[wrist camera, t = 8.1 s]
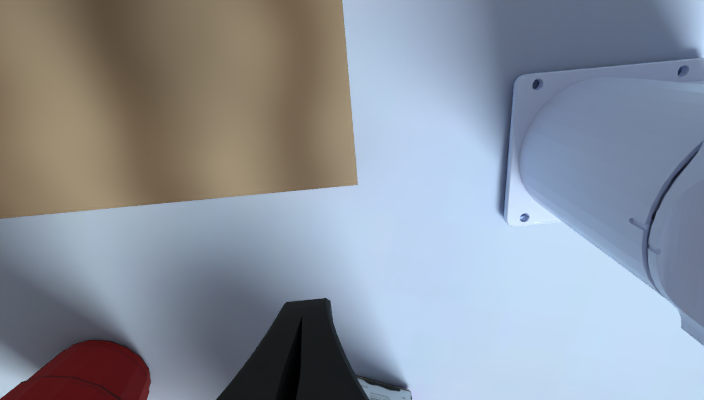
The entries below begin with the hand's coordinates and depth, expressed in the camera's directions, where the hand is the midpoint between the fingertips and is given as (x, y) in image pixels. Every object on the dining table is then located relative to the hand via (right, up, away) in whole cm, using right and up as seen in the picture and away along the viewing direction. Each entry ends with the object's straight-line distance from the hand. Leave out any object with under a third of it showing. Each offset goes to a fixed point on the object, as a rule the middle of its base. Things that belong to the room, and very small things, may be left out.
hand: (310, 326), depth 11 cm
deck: (-11, +9, +6) cm, 15 cm away
